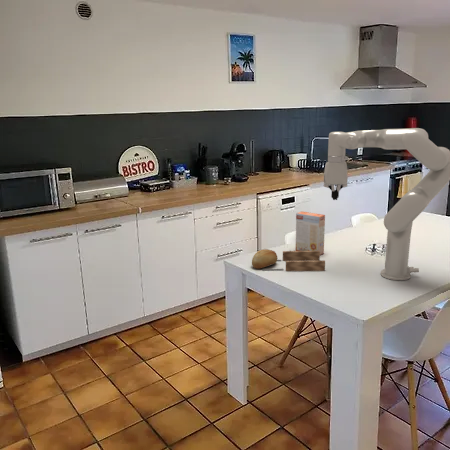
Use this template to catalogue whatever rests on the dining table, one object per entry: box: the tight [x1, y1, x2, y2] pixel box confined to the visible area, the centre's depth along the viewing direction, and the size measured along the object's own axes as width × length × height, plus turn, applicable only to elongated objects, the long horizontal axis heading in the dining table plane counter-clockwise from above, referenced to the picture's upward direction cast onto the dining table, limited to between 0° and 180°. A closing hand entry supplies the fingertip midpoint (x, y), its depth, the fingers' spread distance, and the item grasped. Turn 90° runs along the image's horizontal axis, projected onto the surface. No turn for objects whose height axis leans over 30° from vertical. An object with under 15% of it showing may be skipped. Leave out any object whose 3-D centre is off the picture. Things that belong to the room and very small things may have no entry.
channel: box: [282, 250, 326, 272], centre depth 216 cm, size 18×16×4 cm
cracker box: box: [295, 211, 326, 256], centre depth 232 cm, size 14×6×21 cm, turn 47°
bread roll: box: [251, 248, 279, 270], centre depth 216 cm, size 10×15×8 cm, turn 133°
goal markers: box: [261, 259, 285, 272], centre depth 217 cm, size 10×14×1 cm
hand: (334, 199), depth 208 cm, fingers closed
